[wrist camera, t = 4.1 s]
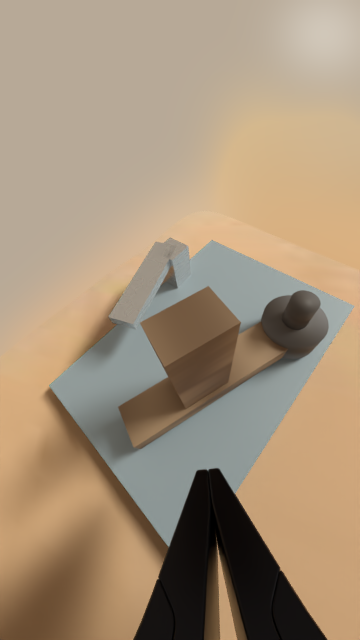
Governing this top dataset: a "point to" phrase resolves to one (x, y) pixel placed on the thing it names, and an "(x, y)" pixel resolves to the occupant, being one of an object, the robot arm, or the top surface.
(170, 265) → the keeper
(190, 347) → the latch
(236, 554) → the robot arm
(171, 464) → the board
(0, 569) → the top surface
